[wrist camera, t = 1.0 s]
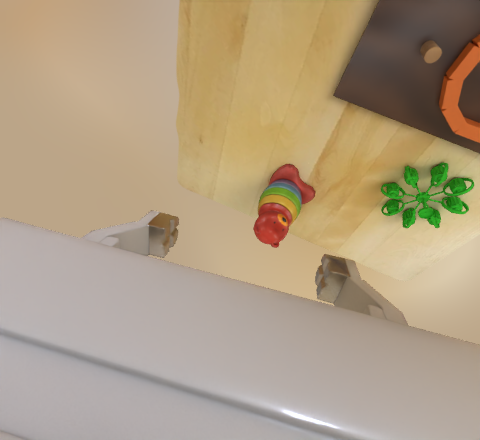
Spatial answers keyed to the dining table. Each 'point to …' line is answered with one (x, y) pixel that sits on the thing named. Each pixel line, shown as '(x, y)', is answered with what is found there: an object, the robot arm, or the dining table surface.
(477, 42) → the ring
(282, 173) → the stacking bear
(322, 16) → the dining table surface
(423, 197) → the chandelier
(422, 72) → the ring toss board
